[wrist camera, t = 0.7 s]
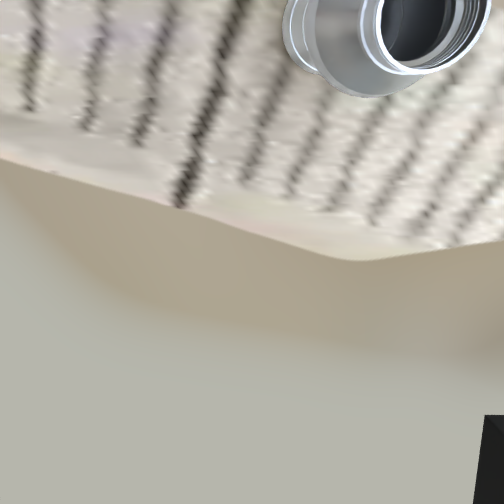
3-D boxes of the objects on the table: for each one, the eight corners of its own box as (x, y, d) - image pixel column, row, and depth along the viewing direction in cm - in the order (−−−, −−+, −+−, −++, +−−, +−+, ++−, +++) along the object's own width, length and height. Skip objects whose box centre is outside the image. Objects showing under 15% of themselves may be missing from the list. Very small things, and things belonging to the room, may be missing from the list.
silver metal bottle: (381, 42, 32) (561, 53, 14) (301, 89, 33) (372, 153, 15) (348, -49, 29) (519, -180, 11) (262, 6, 30) (293, -32, 13)
